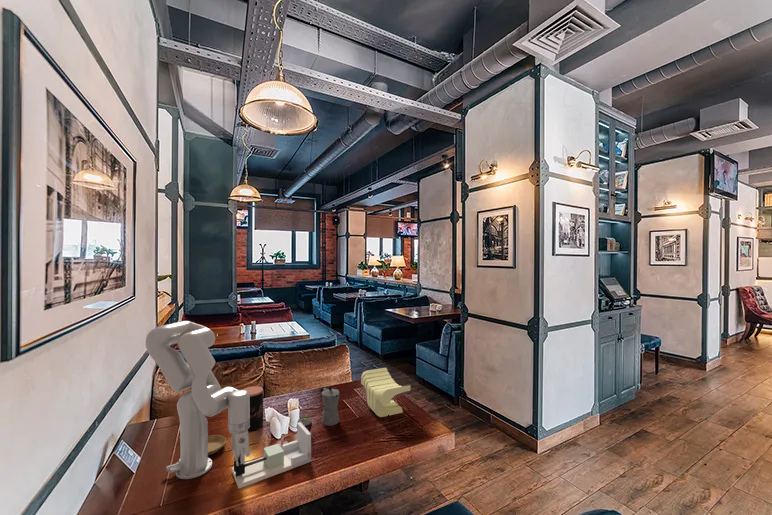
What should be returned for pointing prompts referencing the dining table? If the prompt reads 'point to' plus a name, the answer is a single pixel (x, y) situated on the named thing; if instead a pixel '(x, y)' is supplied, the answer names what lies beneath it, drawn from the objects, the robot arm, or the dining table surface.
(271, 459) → the cord block
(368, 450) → the dining table surface
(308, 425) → the mate gourd
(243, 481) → the shelf lane
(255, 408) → the coffee jar
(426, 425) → the dining table surface
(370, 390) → the slatted curved stool
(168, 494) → the dining table surface
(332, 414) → the coffeepot
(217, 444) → the plant saucer
